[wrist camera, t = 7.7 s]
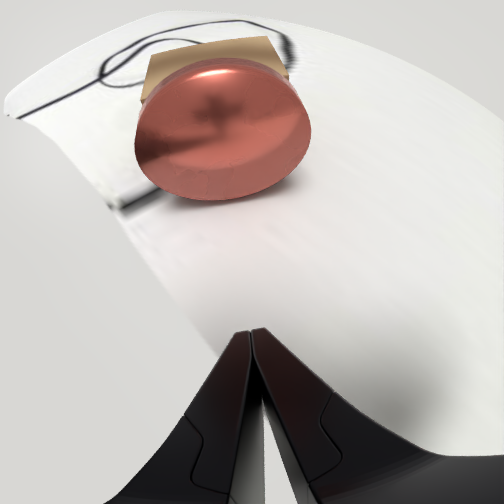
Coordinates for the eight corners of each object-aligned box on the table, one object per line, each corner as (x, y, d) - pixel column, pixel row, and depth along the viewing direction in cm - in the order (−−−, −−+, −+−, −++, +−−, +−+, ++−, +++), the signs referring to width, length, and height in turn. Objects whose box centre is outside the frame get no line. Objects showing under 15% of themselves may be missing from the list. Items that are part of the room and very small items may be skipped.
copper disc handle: (302, 188, 18) (320, 66, 10) (163, 211, 17) (106, 101, 9) (268, 92, 22) (267, 1, 14) (167, 108, 22) (141, 22, 14)
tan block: (284, 157, 19) (288, 75, 13) (171, 176, 19) (140, 99, 13) (267, 107, 22) (266, 35, 16) (172, 123, 22) (151, 55, 15)
